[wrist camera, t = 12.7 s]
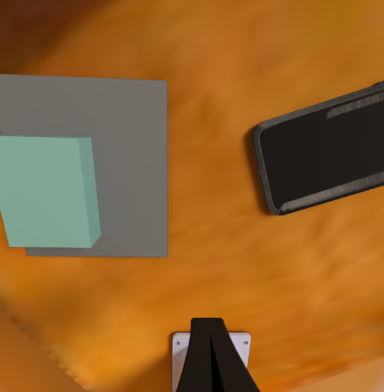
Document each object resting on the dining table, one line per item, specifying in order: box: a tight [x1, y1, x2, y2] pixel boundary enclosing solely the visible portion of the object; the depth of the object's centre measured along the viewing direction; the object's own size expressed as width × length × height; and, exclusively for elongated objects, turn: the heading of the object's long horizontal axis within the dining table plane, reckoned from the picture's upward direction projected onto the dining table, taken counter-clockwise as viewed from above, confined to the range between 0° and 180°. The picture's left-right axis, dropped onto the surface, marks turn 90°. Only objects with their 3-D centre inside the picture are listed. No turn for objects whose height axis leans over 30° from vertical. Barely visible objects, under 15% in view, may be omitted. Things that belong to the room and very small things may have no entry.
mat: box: [0, 74, 168, 257], centre depth 17 cm, size 14×12×1 cm
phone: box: [250, 81, 384, 216], centre depth 17 cm, size 8×1×15 cm
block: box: [0, 135, 101, 248], centre depth 16 cm, size 8×2×6 cm
